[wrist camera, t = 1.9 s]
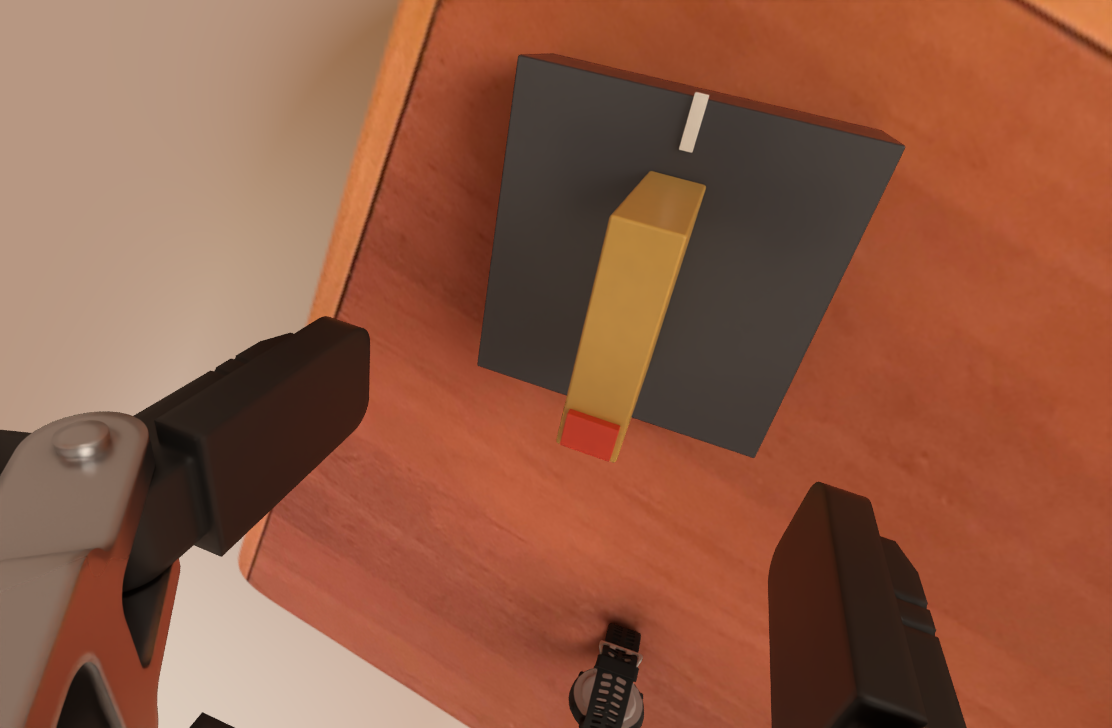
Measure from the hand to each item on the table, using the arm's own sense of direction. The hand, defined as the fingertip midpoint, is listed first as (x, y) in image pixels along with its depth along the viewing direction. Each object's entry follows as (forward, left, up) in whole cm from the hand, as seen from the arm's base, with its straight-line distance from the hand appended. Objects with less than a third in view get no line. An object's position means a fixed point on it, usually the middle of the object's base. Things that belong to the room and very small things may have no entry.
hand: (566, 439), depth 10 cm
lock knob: (0, 0, -8) cm, 8 cm away
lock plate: (0, 0, -11) cm, 11 cm away
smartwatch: (+20, +4, -12) cm, 23 cm away
